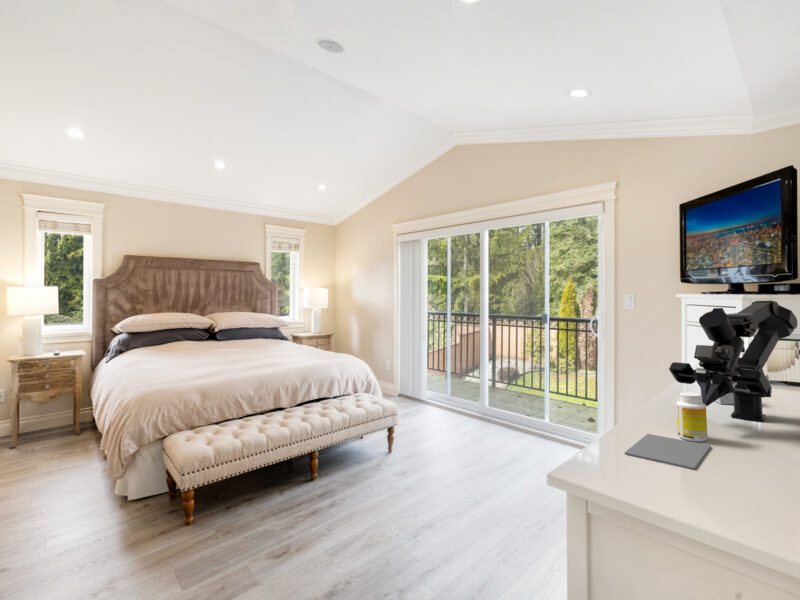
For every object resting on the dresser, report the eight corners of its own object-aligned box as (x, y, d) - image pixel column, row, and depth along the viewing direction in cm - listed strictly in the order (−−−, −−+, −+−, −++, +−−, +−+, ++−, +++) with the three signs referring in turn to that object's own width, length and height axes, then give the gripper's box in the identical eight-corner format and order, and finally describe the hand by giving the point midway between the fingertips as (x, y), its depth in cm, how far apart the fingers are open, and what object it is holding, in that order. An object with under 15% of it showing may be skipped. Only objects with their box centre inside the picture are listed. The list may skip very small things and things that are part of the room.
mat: (647, 435, 95) (647, 433, 95) (710, 447, 86) (710, 445, 86) (624, 454, 84) (624, 452, 84) (694, 469, 75) (694, 467, 75)
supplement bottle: (714, 442, 89) (711, 396, 89) (689, 443, 89) (687, 397, 89) (694, 434, 95) (692, 390, 95) (672, 435, 94) (669, 391, 95)
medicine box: (736, 404, 118) (735, 375, 118) (719, 404, 119) (718, 375, 119) (721, 398, 126) (719, 371, 126) (705, 398, 127) (703, 371, 127)
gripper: (671, 331, 106) (649, 377, 100) (761, 334, 90) (741, 390, 84) (687, 358, 110) (667, 404, 104) (777, 366, 93) (759, 421, 88)
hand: (704, 404), depth 95 cm, fingers closed
